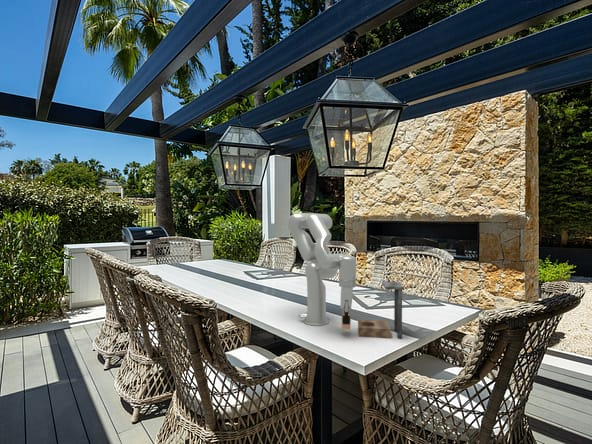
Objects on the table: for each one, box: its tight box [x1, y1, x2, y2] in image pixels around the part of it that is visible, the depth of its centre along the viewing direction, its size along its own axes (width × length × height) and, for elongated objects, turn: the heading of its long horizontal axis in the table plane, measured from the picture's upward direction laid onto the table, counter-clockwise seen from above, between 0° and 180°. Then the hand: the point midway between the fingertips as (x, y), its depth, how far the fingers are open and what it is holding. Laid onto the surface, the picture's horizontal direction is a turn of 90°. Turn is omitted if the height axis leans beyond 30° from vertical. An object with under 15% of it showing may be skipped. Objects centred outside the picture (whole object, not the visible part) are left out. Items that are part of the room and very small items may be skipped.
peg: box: [341, 306, 352, 331], centre depth 153 cm, size 4×4×10 cm
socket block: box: [357, 281, 405, 340], centre depth 154 cm, size 20×12×23 cm, turn 81°
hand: (346, 321), depth 153 cm, fingers closed on peg, 4 cm apart
